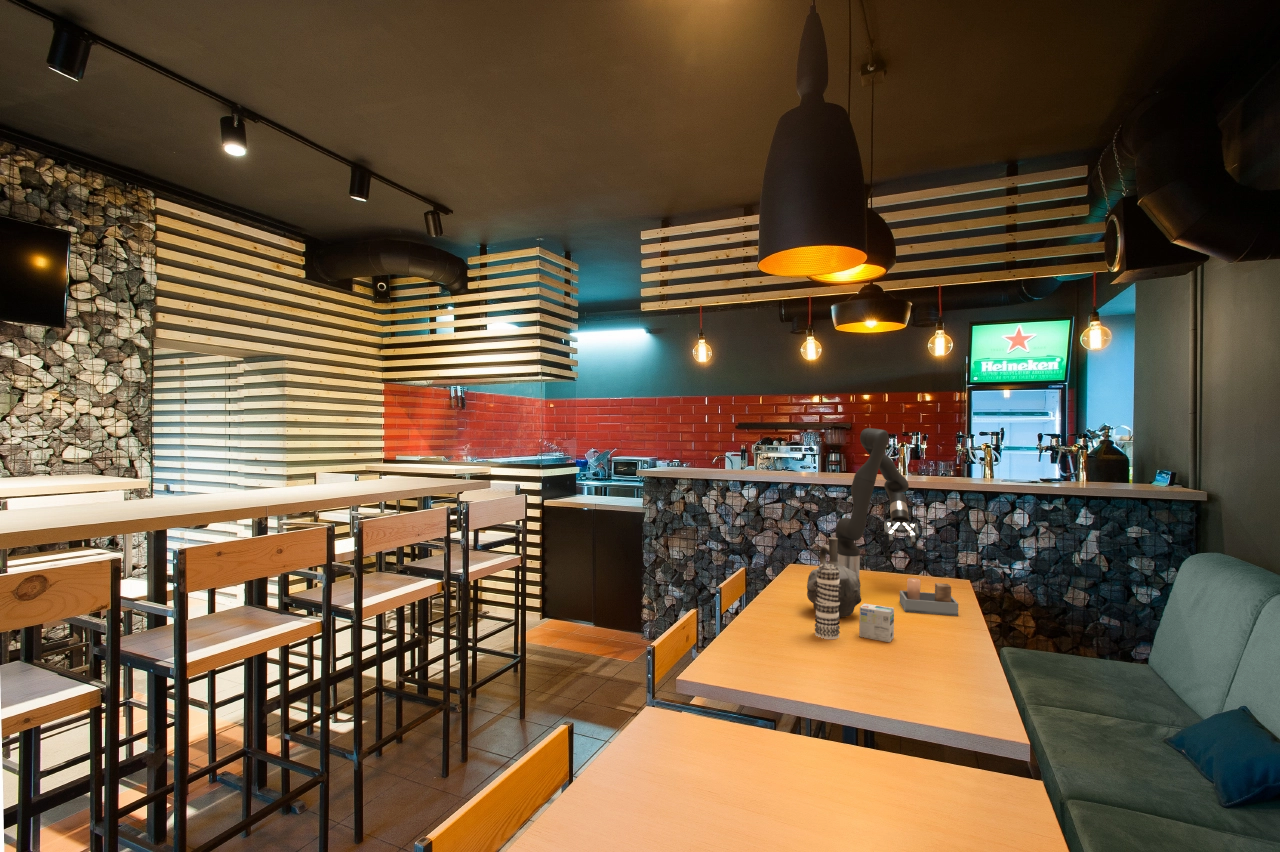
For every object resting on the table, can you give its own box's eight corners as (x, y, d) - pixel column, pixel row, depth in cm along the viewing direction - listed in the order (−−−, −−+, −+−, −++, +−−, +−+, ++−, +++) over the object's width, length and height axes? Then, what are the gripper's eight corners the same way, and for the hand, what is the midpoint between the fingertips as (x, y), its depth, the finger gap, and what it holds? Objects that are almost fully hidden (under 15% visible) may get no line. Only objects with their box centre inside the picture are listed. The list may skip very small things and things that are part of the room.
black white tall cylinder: (810, 637, 227) (812, 566, 227) (816, 629, 236) (818, 561, 235) (837, 641, 223) (838, 569, 223) (842, 633, 231) (843, 564, 231)
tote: (905, 612, 260) (905, 599, 260) (899, 602, 274) (899, 590, 274) (958, 616, 255) (958, 603, 255) (949, 606, 270) (949, 594, 269)
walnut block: (937, 610, 259) (937, 585, 259) (934, 607, 264) (935, 583, 264) (950, 611, 258) (951, 586, 258) (947, 608, 263) (948, 583, 262)
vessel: (790, 606, 265) (791, 533, 265) (835, 602, 272) (836, 531, 272) (826, 624, 242) (827, 544, 242) (874, 619, 249) (875, 542, 249)
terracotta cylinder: (908, 604, 267) (908, 580, 267) (905, 601, 272) (906, 577, 272) (920, 605, 266) (921, 581, 266) (918, 602, 271) (919, 578, 270)
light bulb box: (894, 637, 228) (894, 607, 228) (890, 643, 223) (890, 611, 222) (863, 632, 234) (863, 602, 234) (858, 637, 228) (859, 606, 228)
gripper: (883, 507, 294) (886, 536, 283) (917, 509, 290) (921, 538, 279) (881, 517, 299) (884, 546, 288) (914, 519, 296) (918, 548, 285)
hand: (902, 542), depth 284 cm, fingers open, 8 cm apart
